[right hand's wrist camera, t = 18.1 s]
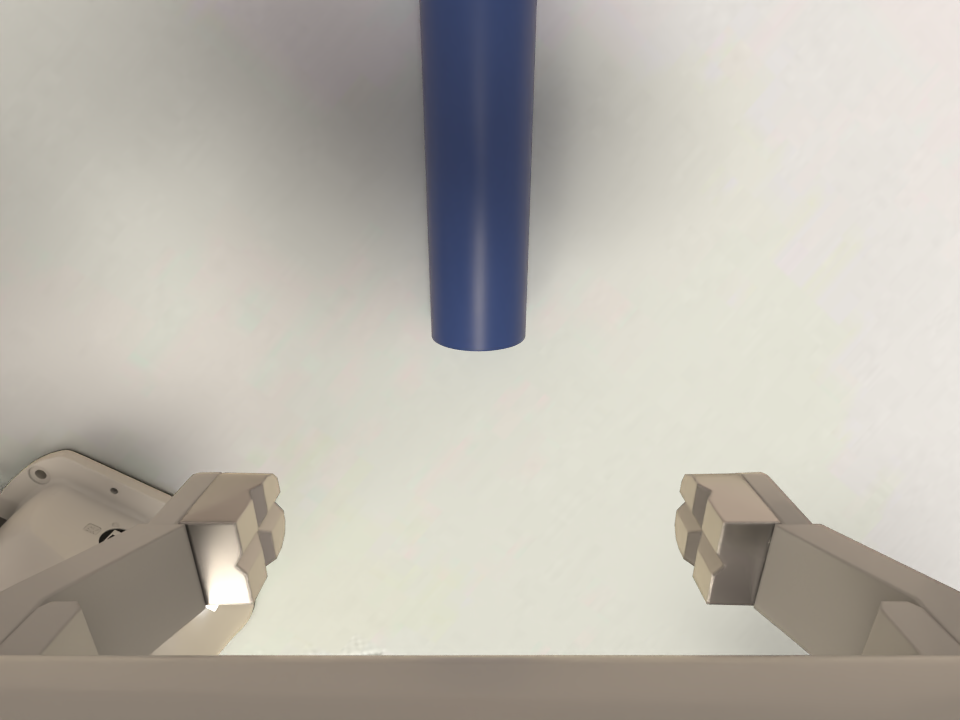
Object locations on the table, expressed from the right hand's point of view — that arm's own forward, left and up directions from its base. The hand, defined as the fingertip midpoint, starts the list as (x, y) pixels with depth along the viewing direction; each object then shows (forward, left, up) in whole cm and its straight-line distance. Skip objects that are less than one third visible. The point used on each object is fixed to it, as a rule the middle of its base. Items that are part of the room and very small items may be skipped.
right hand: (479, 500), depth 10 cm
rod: (-6, +6, -27) cm, 28 cm away
